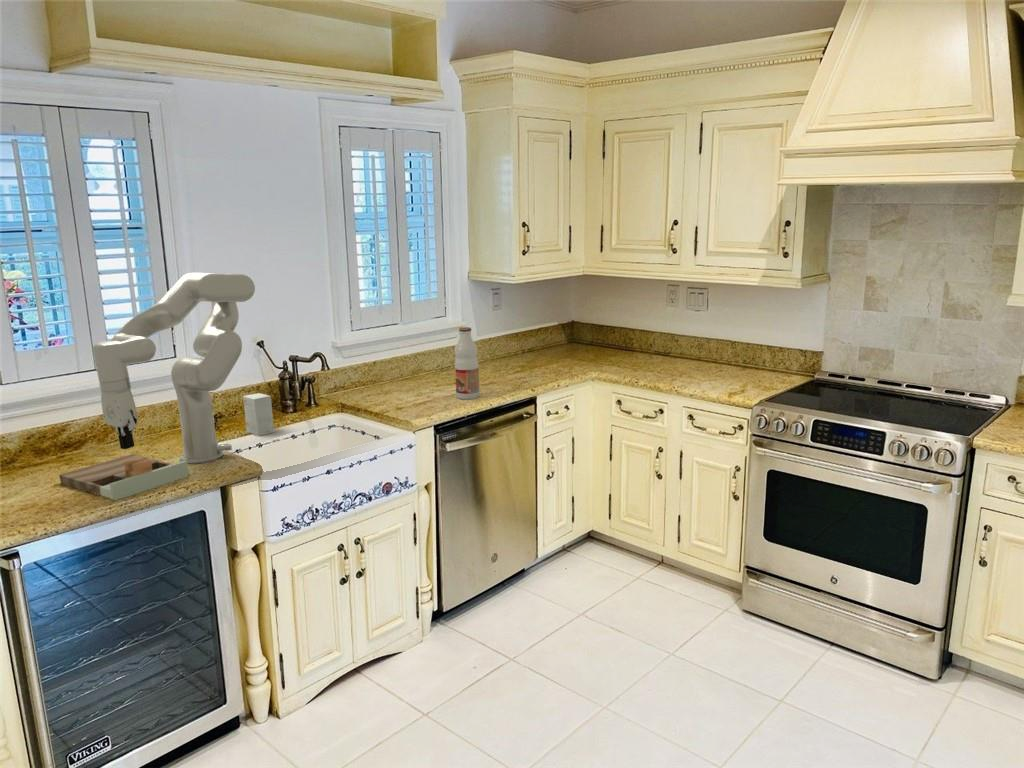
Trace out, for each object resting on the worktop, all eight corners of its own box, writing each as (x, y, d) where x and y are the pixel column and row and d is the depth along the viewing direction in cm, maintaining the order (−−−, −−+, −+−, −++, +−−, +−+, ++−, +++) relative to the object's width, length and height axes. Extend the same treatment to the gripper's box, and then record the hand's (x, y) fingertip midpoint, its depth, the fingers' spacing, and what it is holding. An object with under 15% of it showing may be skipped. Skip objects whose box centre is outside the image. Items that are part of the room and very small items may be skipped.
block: (126, 479, 213) (123, 462, 212) (143, 474, 217) (141, 457, 216) (136, 482, 210) (133, 464, 209) (153, 477, 214) (151, 459, 213)
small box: (274, 432, 266) (271, 395, 263) (258, 436, 261) (254, 399, 259) (262, 428, 271) (259, 392, 268) (246, 432, 267) (242, 395, 264)
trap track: (60, 483, 219) (59, 474, 219) (133, 461, 237) (132, 454, 237) (100, 495, 208) (99, 487, 207) (174, 472, 226) (173, 464, 225)
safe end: (100, 495, 208) (98, 480, 207) (174, 472, 226) (172, 457, 225) (115, 500, 204) (112, 484, 203) (188, 476, 222) (187, 461, 221)
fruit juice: (479, 399, 304) (476, 329, 298) (455, 400, 304) (452, 330, 298) (480, 394, 313) (477, 326, 307) (456, 394, 313) (453, 326, 307)
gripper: (87, 386, 215) (100, 448, 220) (117, 391, 207) (130, 455, 212) (113, 379, 221) (125, 440, 226) (143, 384, 213) (155, 447, 218)
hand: (127, 447), depth 219 cm, fingers closed
